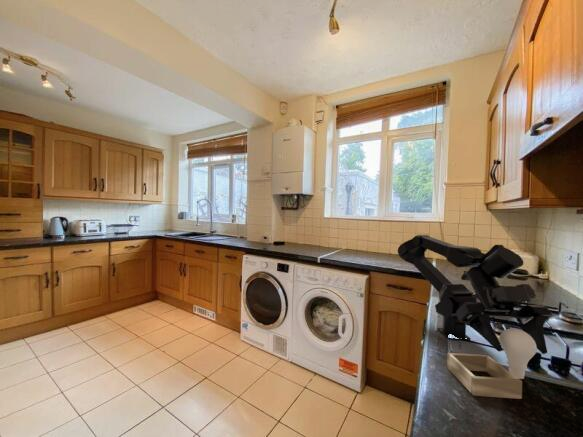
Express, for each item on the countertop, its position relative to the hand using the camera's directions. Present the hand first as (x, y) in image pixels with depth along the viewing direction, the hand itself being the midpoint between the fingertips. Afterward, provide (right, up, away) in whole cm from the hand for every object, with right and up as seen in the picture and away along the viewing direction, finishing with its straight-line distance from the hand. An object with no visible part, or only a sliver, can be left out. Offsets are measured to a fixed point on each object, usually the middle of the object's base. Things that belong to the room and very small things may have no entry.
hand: (522, 352), depth 53 cm
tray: (-9, -6, 0) cm, 11 cm away
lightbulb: (0, -7, +1) cm, 7 cm away
